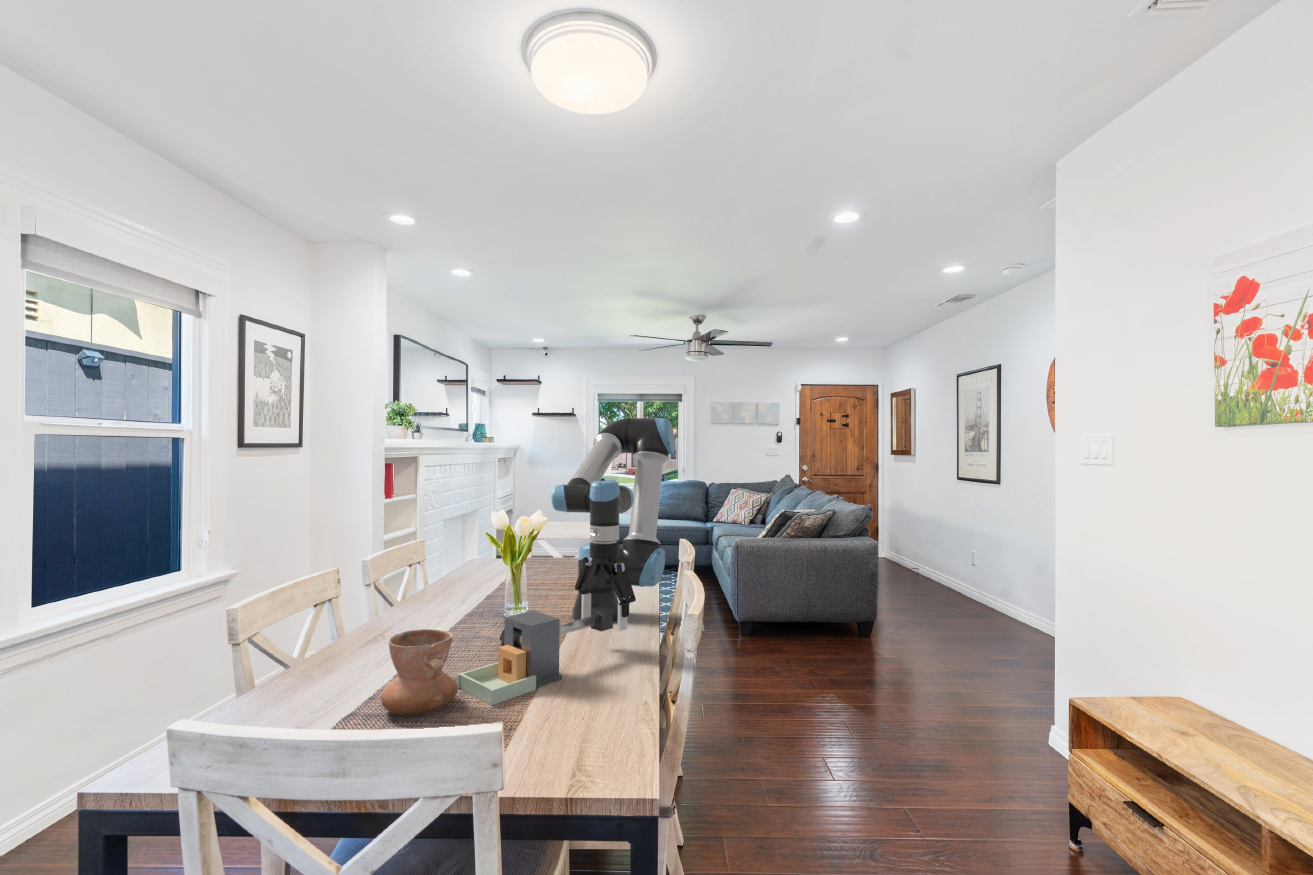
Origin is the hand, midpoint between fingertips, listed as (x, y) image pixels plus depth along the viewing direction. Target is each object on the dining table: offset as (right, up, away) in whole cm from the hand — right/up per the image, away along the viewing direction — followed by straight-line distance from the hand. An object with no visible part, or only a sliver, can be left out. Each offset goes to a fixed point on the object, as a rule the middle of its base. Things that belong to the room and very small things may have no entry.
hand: (603, 623), depth 157 cm
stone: (-22, -8, 0) cm, 23 cm away
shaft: (-8, -1, -9) cm, 12 cm away
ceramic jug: (-35, -7, -33) cm, 48 cm away
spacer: (-19, -3, -21) cm, 28 cm away
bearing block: (-15, -7, -17) cm, 24 cm away
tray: (-21, -7, -24) cm, 33 cm away
